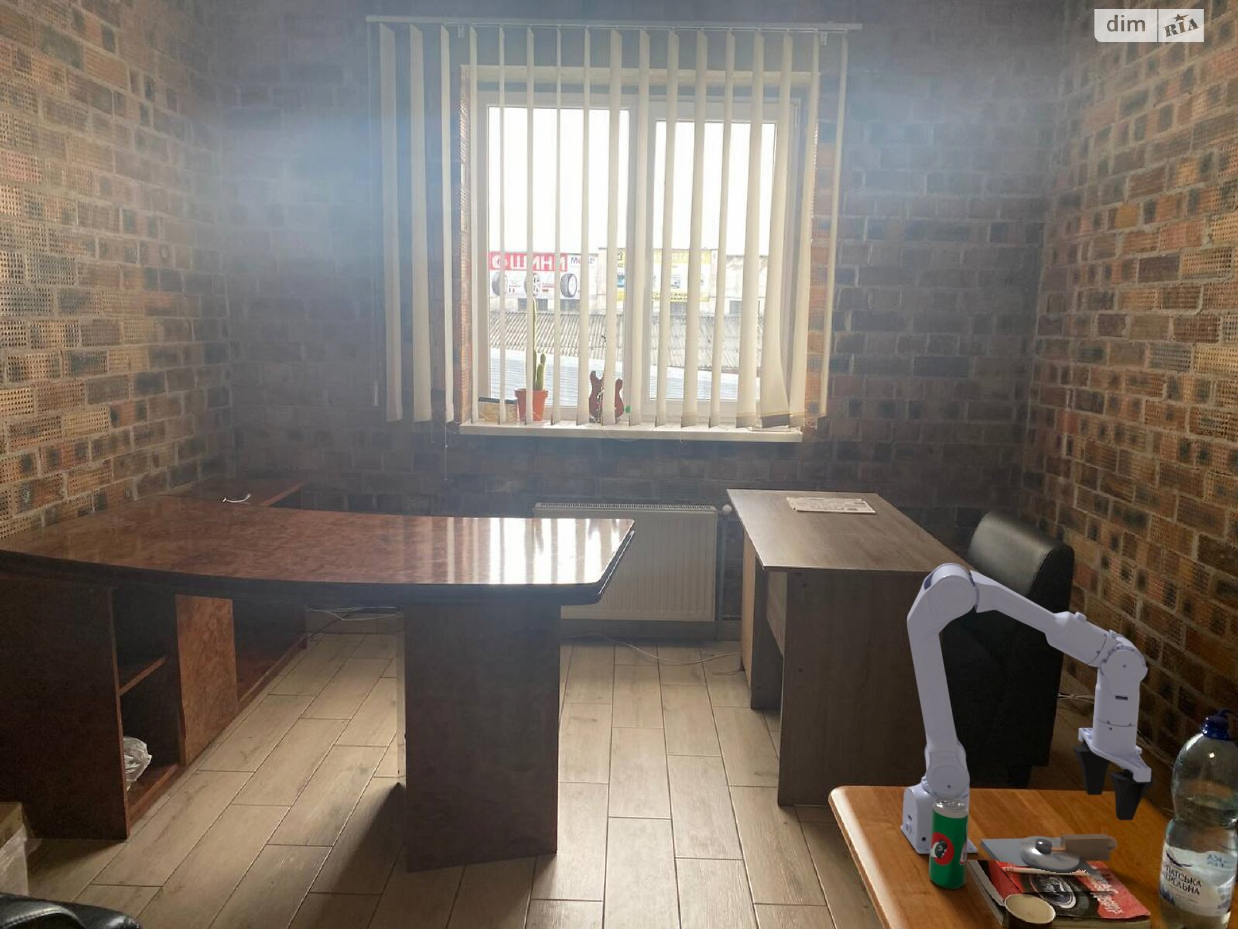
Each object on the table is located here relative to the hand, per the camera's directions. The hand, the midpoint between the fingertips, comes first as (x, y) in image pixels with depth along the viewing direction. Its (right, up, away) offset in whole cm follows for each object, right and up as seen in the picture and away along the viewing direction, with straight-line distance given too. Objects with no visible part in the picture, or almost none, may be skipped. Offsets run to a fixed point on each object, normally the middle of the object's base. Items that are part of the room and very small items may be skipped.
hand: (1108, 806), depth 134 cm
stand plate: (-10, -10, +1) cm, 14 cm away
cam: (-6, -8, +1) cm, 10 cm away
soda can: (-26, -10, -3) cm, 28 cm away
